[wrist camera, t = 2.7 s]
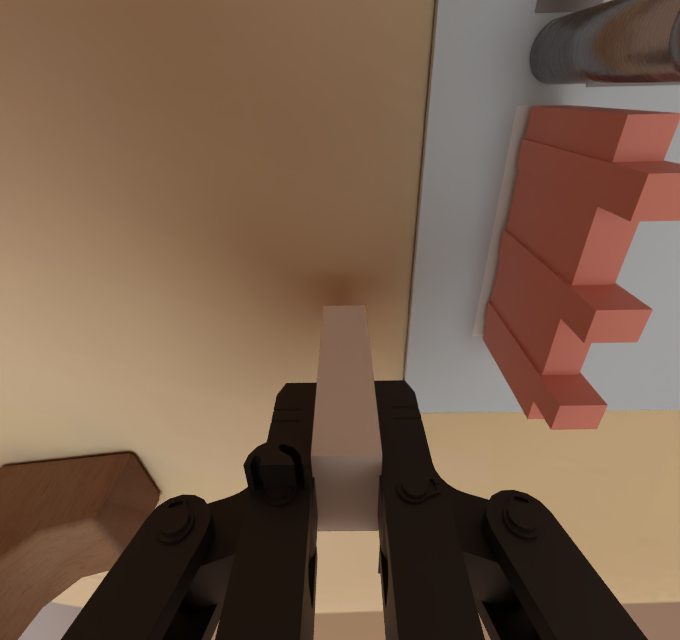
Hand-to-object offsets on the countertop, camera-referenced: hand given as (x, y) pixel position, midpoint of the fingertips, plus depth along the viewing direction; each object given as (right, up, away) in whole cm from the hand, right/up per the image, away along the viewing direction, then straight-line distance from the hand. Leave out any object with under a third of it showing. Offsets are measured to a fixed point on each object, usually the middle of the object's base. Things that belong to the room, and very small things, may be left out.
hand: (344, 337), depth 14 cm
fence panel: (+7, +4, +1) cm, 8 cm away
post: (+7, +9, -2) cm, 12 cm away
